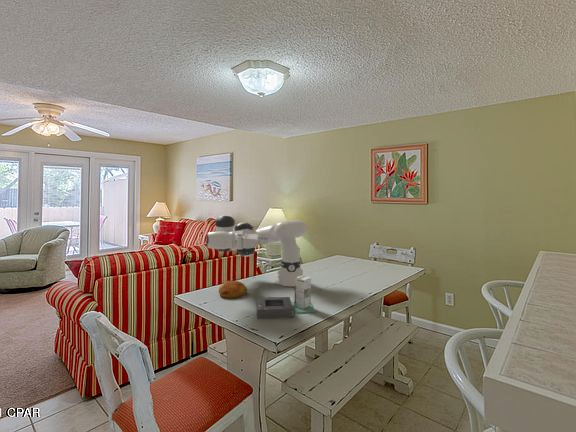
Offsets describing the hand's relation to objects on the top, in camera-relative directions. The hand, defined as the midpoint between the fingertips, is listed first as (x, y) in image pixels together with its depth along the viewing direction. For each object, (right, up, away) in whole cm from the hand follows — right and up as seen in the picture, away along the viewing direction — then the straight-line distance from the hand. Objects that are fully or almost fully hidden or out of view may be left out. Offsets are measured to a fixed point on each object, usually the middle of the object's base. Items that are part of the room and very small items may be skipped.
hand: (267, 240), depth 152 cm
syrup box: (+17, -32, -3) cm, 37 cm away
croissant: (-21, -31, +15) cm, 40 cm away
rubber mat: (+17, -32, -3) cm, 37 cm away
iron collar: (+4, -33, -8) cm, 34 cm away
